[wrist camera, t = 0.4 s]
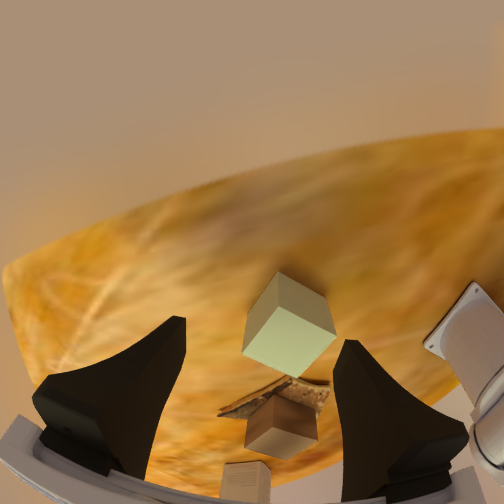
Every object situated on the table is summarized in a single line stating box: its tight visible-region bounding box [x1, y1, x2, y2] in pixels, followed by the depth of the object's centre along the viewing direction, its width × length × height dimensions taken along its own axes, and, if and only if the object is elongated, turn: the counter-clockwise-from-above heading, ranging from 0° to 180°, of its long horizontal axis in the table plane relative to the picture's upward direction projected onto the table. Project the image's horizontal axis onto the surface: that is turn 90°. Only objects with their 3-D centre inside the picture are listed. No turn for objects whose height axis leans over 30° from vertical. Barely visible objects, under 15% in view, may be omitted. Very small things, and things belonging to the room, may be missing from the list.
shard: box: [217, 375, 331, 420], centre depth 26 cm, size 11×8×2 cm
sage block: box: [241, 271, 337, 378], centre depth 20 cm, size 4×4×5 cm
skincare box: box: [219, 461, 271, 504], centre depth 27 cm, size 6×4×12 cm
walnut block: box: [244, 394, 318, 460], centre depth 24 cm, size 5×5×4 cm
